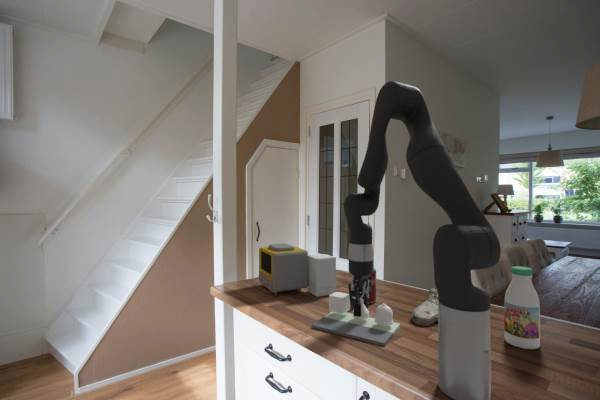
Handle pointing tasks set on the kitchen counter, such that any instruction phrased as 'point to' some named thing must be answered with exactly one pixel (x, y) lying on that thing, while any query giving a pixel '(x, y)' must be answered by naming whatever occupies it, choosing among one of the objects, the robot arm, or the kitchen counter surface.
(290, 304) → the kitchen counter surface
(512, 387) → the kitchen counter surface
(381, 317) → the container set
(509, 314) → the milk bottle
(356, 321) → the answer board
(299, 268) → the grey yellow box
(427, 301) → the elongated rock
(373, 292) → the soda can
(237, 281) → the kitchen counter surface
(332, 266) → the supplement box
